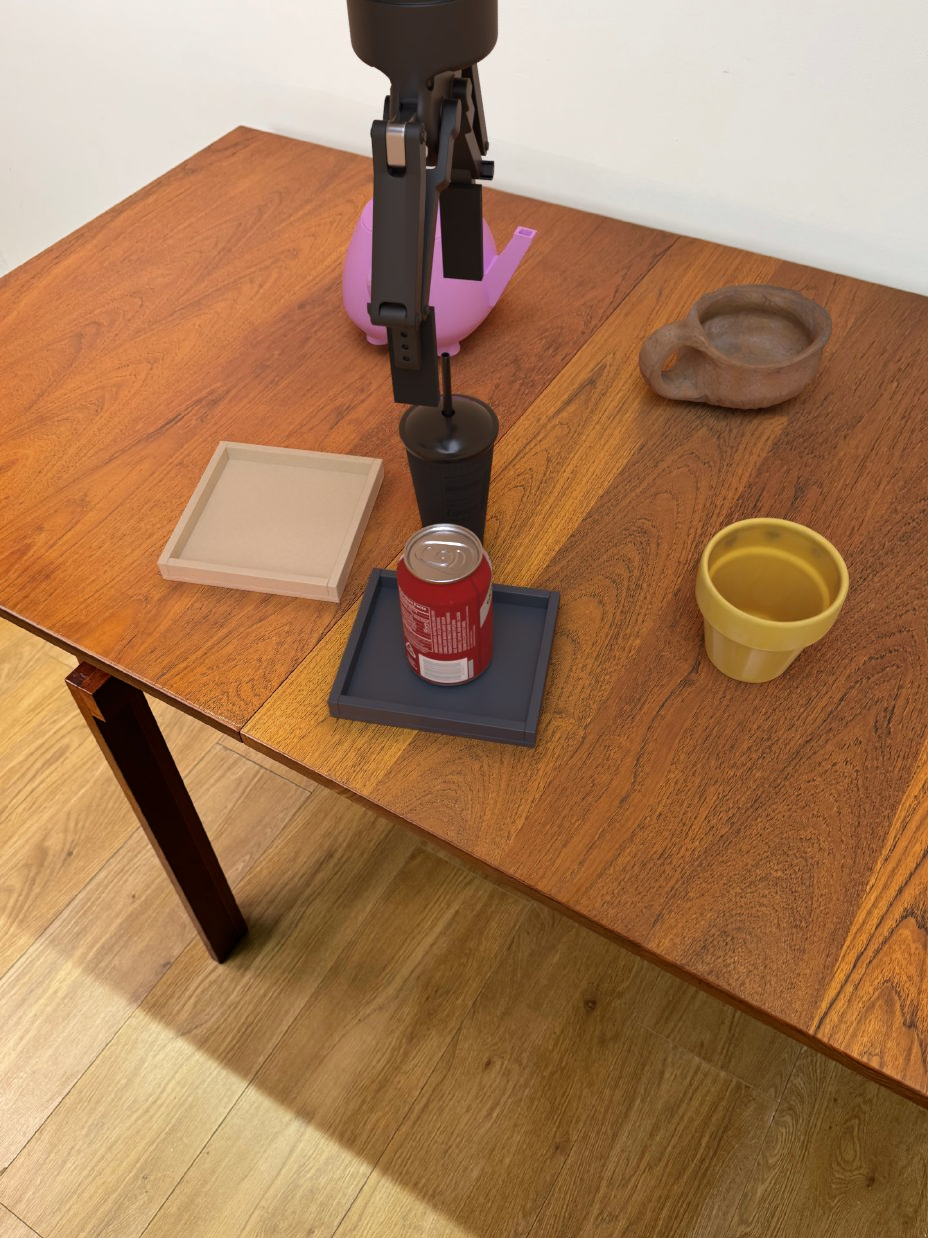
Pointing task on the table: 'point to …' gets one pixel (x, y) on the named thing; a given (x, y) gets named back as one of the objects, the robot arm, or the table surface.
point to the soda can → (446, 604)
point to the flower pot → (767, 595)
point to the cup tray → (274, 521)
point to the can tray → (478, 709)
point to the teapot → (434, 284)
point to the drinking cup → (451, 456)
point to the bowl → (739, 348)
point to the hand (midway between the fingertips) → (441, 335)
